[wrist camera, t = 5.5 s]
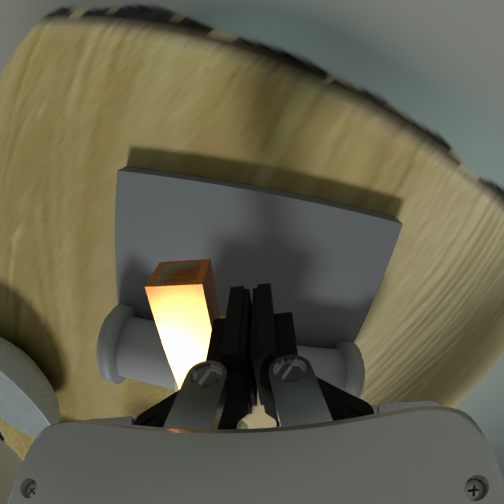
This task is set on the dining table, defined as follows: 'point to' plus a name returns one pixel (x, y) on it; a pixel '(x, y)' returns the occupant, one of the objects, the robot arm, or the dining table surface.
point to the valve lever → (184, 312)
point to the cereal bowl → (25, 392)
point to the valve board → (245, 269)
